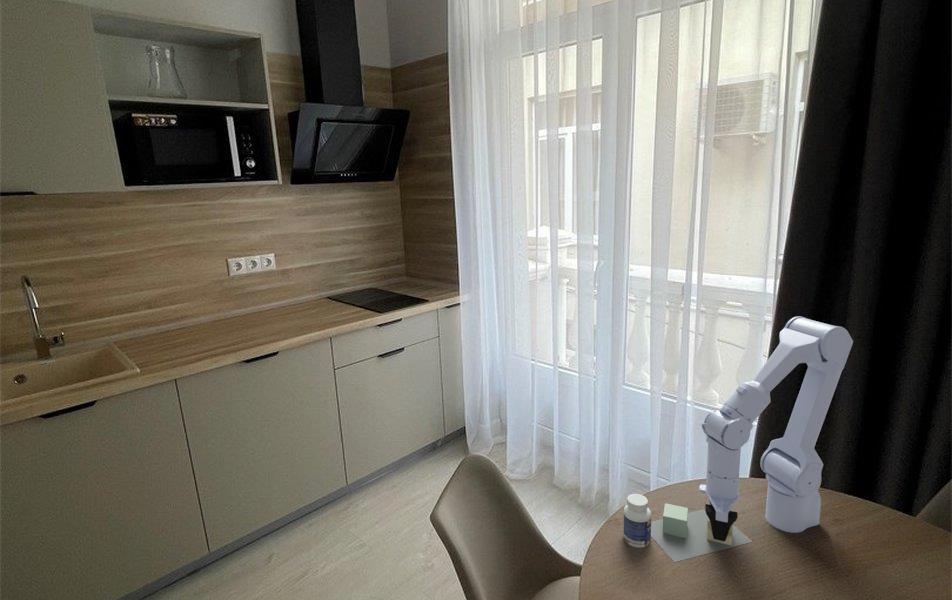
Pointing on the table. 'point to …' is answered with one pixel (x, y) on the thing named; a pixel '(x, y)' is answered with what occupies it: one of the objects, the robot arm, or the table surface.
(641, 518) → the pill bottle
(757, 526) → the table surface
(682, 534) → the sage block
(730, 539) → the birch block
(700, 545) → the board
